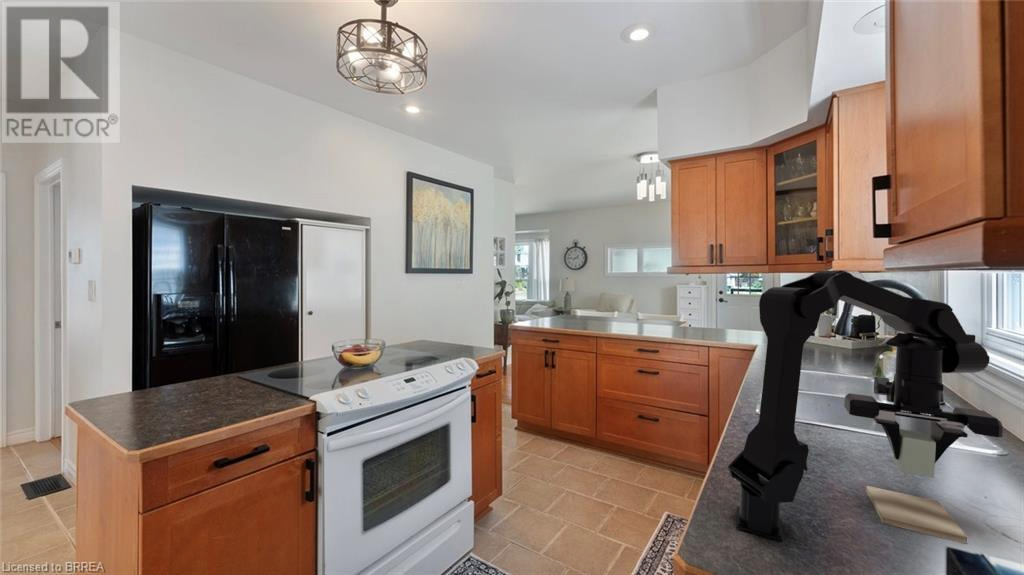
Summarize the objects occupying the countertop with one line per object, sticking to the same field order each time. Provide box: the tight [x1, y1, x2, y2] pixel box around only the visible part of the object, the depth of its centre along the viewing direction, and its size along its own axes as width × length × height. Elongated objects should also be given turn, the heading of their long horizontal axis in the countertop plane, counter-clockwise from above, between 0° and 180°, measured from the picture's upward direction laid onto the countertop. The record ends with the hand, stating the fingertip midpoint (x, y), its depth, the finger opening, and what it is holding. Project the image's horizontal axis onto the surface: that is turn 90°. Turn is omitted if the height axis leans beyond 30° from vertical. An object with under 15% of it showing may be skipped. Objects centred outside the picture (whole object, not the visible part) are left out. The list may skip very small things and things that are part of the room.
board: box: [865, 485, 969, 544], centre depth 71 cm, size 12×10×1 cm
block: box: [892, 428, 936, 479], centre depth 71 cm, size 5×4×6 cm
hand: (913, 461), depth 71 cm, fingers closed on block, 4 cm apart
